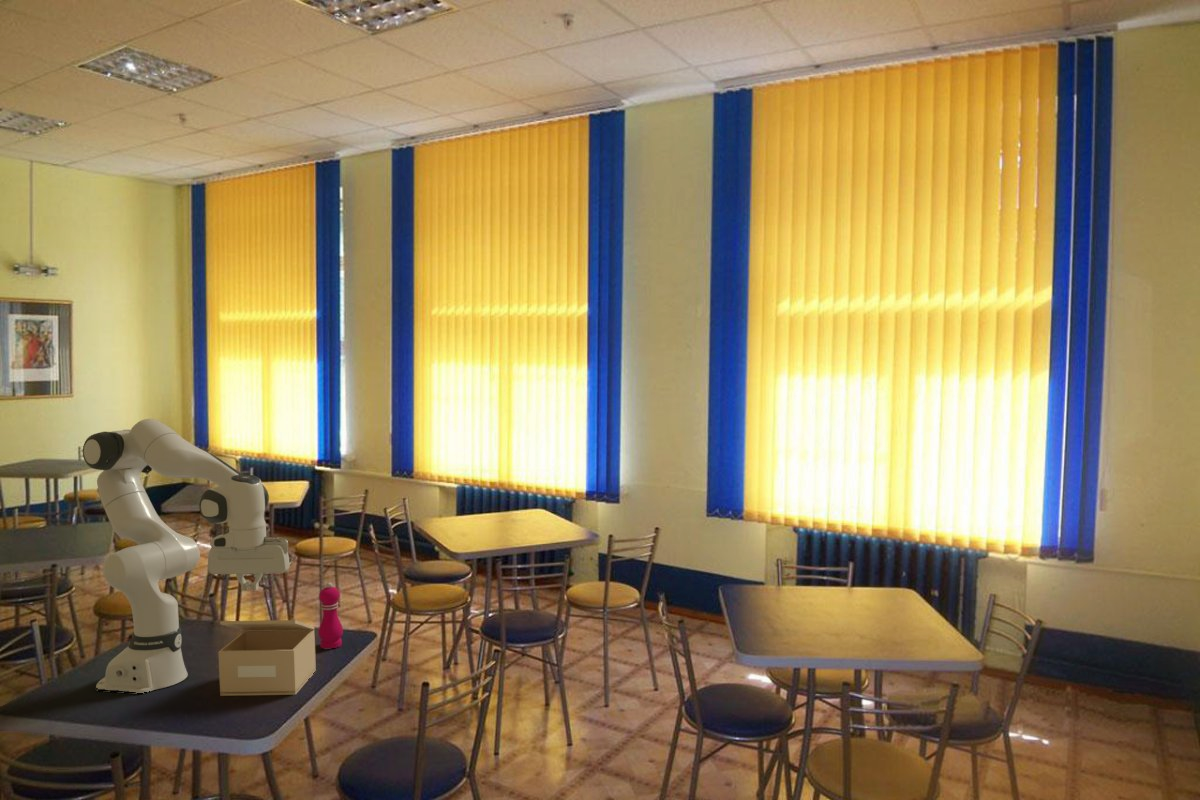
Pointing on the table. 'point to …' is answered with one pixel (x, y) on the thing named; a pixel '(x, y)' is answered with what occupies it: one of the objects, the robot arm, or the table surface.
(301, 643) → the carton
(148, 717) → the table surface
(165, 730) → the table surface
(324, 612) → the pepper mill
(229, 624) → the carton lid
